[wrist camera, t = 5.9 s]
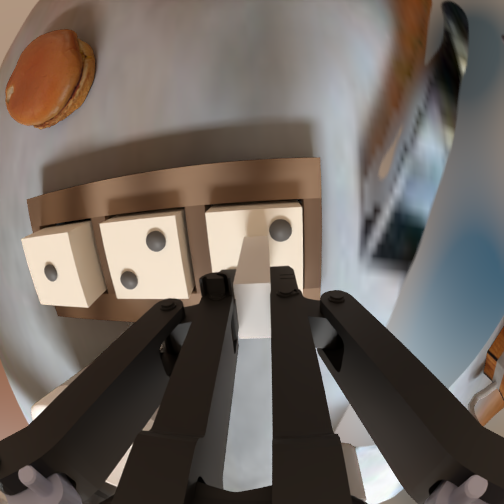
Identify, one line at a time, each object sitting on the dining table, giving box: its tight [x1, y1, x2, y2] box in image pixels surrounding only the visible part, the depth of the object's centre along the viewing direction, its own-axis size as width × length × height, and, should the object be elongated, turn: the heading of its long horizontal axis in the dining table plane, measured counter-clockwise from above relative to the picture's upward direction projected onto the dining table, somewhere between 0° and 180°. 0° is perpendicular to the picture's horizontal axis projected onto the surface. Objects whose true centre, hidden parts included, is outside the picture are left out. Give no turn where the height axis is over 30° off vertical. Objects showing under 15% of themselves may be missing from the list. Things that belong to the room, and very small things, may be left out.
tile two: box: [100, 207, 196, 299], centre depth 20 cm, size 6×6×4 cm
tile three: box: [205, 199, 303, 294], centre depth 19 cm, size 6×6×4 cm
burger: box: [5, 29, 95, 129], centre depth 15 cm, size 10×9×5 cm
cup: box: [341, 443, 366, 502], centre depth 28 cm, size 8×8×10 cm
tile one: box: [21, 220, 107, 308], centre depth 19 cm, size 6×6×4 cm
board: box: [27, 157, 322, 322], centre depth 21 cm, size 25×12×2 cm, turn 94°
